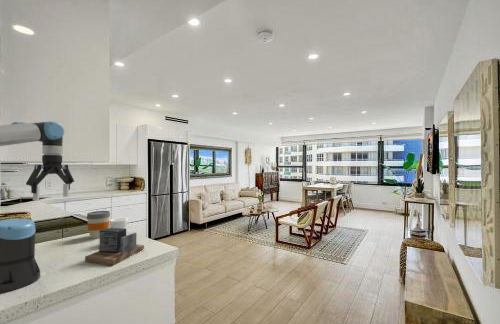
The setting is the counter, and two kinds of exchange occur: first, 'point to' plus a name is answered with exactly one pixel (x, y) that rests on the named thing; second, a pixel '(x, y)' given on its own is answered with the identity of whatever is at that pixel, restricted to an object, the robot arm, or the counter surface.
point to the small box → (111, 240)
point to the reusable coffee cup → (97, 222)
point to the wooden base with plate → (127, 250)
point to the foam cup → (119, 223)
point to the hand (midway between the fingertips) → (51, 198)
